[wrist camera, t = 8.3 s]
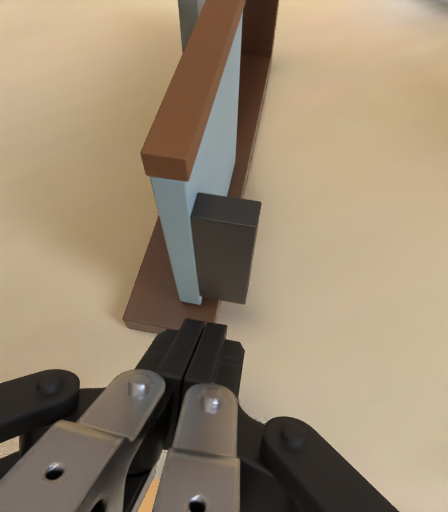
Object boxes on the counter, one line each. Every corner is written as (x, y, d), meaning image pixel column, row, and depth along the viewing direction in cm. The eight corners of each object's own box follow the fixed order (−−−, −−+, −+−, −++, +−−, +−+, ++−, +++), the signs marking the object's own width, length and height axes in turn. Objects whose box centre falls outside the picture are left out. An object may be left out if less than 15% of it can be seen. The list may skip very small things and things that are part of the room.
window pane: (269, 166, 25) (299, -16, 16) (243, 313, 20) (265, 171, 10) (217, 159, 25) (215, -25, 16) (177, 301, 20) (139, 152, 10)
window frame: (270, 65, 34) (296, -132, 23) (211, 344, 21) (201, 199, 9) (218, 59, 34) (218, -138, 23) (127, 328, 21) (22, 171, 10)
